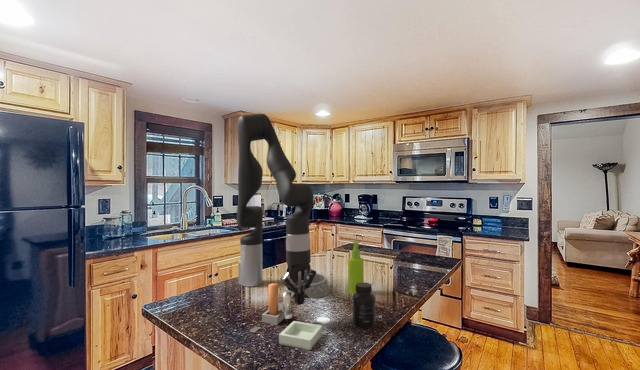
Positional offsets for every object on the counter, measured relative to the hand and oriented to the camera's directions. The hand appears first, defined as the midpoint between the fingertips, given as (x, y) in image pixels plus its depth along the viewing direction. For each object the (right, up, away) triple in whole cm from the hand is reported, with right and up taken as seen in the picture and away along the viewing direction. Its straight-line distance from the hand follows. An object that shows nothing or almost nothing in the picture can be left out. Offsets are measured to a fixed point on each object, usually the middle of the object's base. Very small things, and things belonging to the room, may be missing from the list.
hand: (299, 303), depth 96 cm
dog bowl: (+1, -6, +28) cm, 29 cm away
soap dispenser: (+21, -6, +26) cm, 34 cm away
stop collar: (-8, -5, +1) cm, 10 cm away
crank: (-6, -4, +3) cm, 8 cm away
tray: (+1, -5, -11) cm, 12 cm away
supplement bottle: (+20, -6, -2) cm, 20 cm away
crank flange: (-10, -5, +2) cm, 11 cm away
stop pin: (-8, -5, +1) cm, 10 cm away
